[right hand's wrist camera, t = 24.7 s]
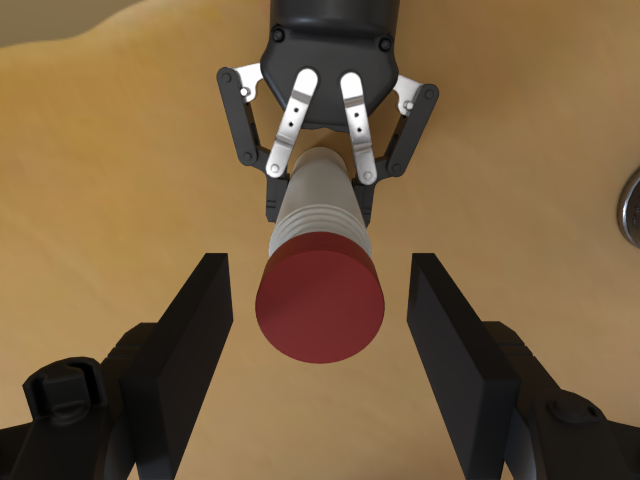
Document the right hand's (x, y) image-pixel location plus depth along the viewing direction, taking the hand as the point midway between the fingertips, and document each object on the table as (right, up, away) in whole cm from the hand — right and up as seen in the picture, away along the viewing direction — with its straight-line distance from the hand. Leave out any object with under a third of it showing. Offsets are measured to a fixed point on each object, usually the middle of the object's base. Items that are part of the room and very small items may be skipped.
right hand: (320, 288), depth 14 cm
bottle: (0, +7, +20) cm, 21 cm away
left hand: (0, +3, +14) cm, 15 cm away
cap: (0, 0, -1) cm, 1 cm away
